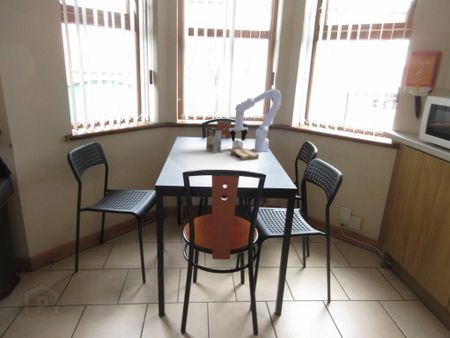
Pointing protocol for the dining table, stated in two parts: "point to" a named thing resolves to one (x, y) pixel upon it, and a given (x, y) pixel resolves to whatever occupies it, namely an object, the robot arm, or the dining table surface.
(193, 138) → the dining table surface
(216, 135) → the coffee box
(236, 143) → the block
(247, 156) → the stand
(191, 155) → the dining table surface
